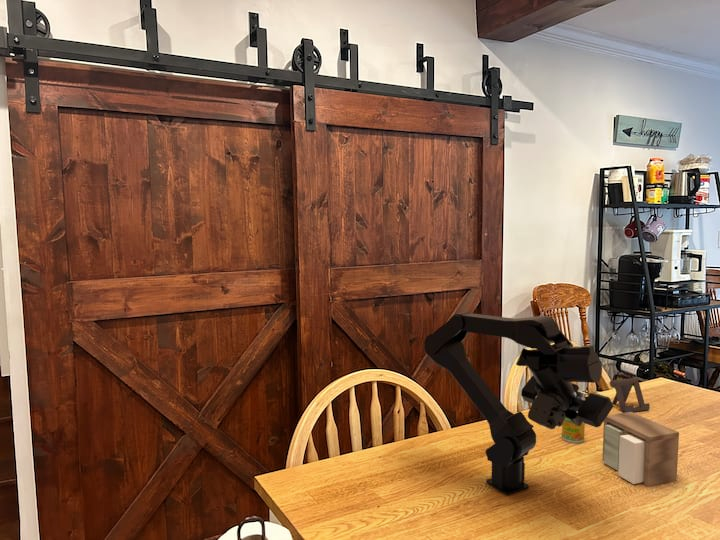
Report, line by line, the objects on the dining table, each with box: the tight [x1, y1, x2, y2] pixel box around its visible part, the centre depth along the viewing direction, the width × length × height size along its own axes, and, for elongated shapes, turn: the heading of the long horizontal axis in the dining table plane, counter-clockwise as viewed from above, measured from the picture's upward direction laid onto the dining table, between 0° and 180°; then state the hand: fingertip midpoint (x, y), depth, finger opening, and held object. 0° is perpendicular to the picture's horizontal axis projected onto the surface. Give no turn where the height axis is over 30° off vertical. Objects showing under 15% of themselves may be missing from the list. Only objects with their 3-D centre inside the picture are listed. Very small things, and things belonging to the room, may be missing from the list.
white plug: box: [617, 434, 646, 485], centre depth 116 cm, size 12×4×9 cm, turn 108°
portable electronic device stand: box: [609, 377, 650, 413], centre depth 159 cm, size 9×8×8 cm
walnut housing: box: [602, 412, 680, 487], centre depth 119 cm, size 9×13×11 cm
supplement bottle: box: [561, 417, 586, 444], centre depth 136 cm, size 5×5×10 cm
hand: (579, 424), depth 112 cm, fingers closed
